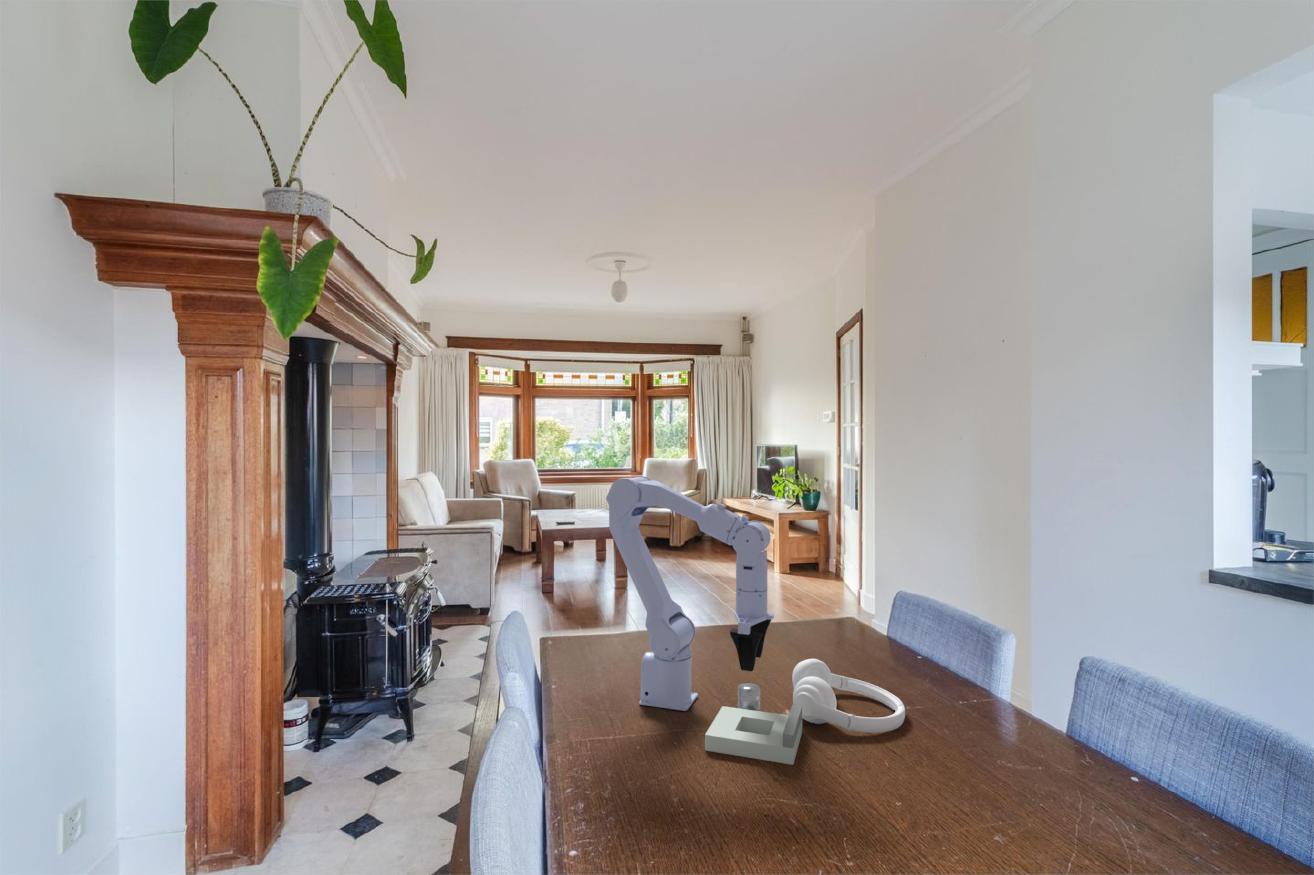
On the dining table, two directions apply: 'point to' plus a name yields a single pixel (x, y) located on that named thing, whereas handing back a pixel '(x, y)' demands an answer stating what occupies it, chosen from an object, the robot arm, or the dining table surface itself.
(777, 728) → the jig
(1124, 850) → the dining table surface
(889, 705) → the headphones
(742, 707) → the peg
